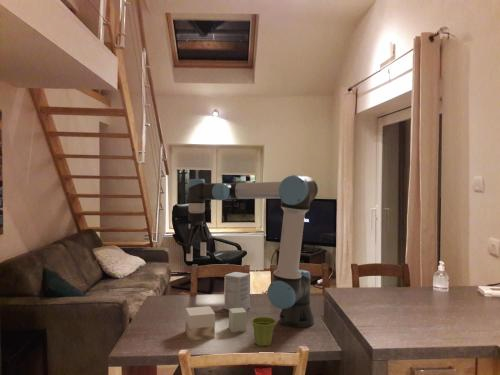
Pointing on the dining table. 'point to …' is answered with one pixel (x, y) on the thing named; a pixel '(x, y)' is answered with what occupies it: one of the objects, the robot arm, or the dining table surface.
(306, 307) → the robot arm
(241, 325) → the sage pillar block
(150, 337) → the dining table surface
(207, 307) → the tower top block
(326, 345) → the dining table surface
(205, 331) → the tower bottom block
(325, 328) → the dining table surface
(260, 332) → the plant pot
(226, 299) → the supplement box
